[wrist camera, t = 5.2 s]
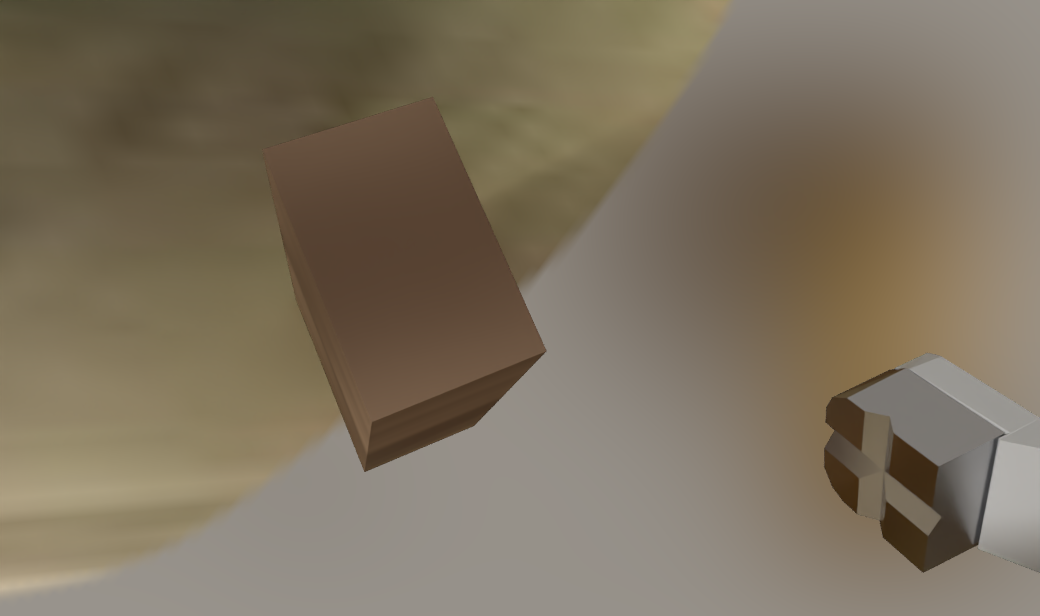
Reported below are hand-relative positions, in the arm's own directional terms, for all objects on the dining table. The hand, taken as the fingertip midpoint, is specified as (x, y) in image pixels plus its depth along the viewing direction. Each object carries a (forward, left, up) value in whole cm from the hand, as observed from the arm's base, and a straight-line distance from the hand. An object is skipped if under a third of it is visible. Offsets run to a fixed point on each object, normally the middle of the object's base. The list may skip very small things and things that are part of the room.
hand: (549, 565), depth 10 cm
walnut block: (+3, +3, -8) cm, 9 cm away
